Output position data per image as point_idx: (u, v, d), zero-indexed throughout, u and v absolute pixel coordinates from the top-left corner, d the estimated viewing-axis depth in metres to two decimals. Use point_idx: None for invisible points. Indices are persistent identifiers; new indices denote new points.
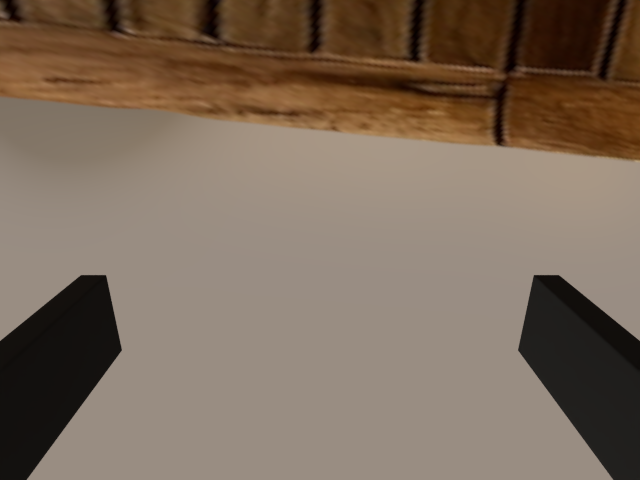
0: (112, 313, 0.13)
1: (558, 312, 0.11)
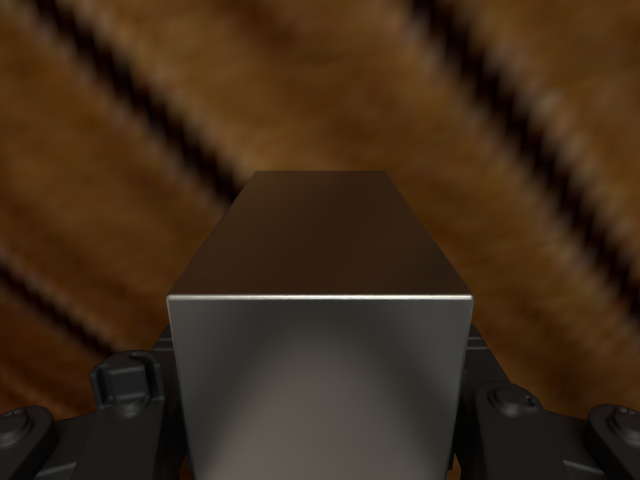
0: None
1: None
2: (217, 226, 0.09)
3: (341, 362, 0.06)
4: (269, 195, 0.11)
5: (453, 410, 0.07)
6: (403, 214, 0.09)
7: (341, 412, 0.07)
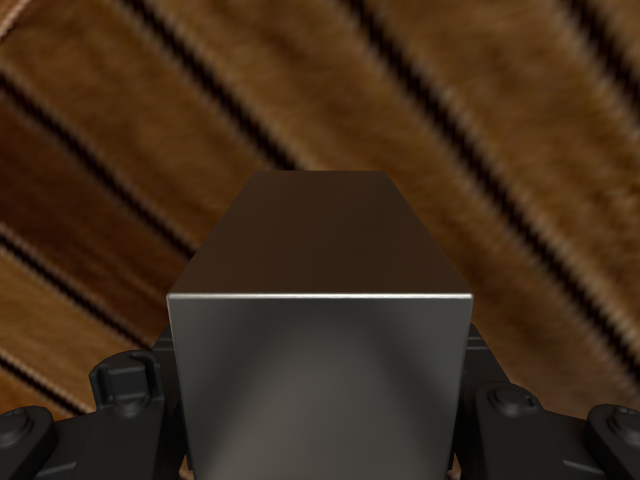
0: None
1: None
2: (217, 225, 0.09)
3: (341, 360, 0.06)
4: (269, 195, 0.11)
5: (453, 409, 0.07)
6: (403, 213, 0.09)
7: (341, 411, 0.07)
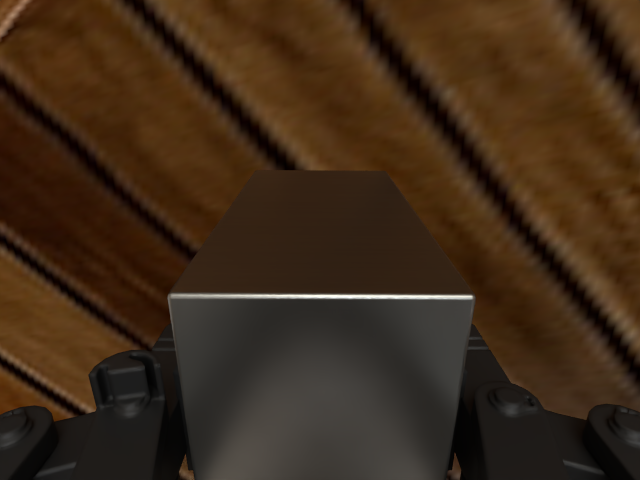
0: None
1: None
2: (218, 225, 0.09)
3: (343, 361, 0.06)
4: (270, 194, 0.11)
5: (454, 410, 0.07)
6: (404, 214, 0.09)
7: (343, 412, 0.07)
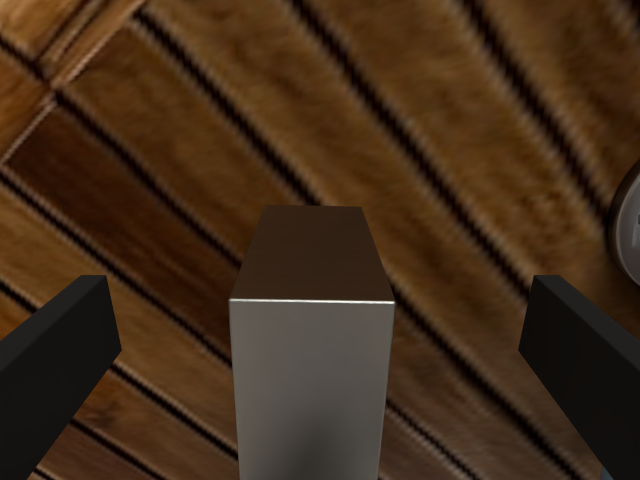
0: (112, 313, 0.13)
1: (558, 312, 0.11)
2: (247, 254, 0.13)
3: (324, 337, 0.11)
4: (278, 228, 0.16)
5: (386, 366, 0.11)
6: (367, 246, 0.14)
7: (323, 366, 0.11)
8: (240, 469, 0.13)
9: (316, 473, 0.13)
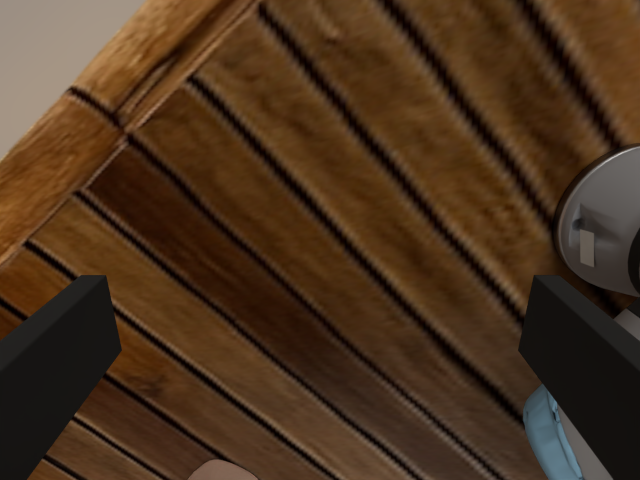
0: (112, 313, 0.13)
1: (558, 312, 0.11)
2: None
3: None
4: None
5: None
6: None
7: None
8: None
9: None
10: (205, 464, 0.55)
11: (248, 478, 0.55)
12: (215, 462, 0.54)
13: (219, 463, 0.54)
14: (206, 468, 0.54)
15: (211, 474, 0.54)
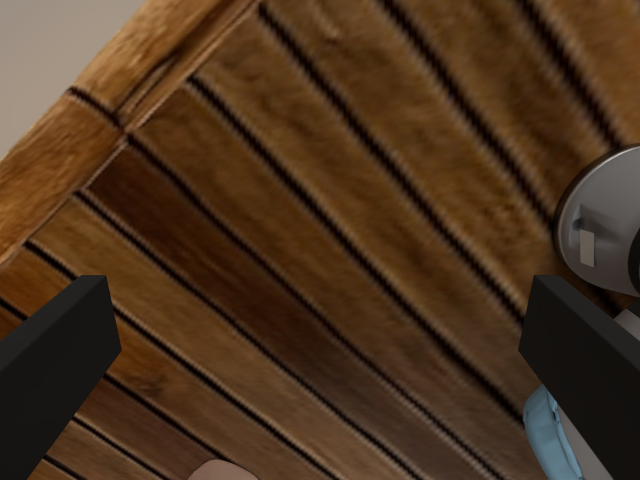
0: (112, 313, 0.13)
1: (558, 312, 0.11)
2: None
3: None
4: None
5: None
6: None
7: None
8: None
9: None
10: (205, 464, 0.55)
11: (248, 478, 0.55)
12: (215, 462, 0.54)
13: (219, 463, 0.54)
14: (206, 468, 0.54)
15: (211, 474, 0.54)
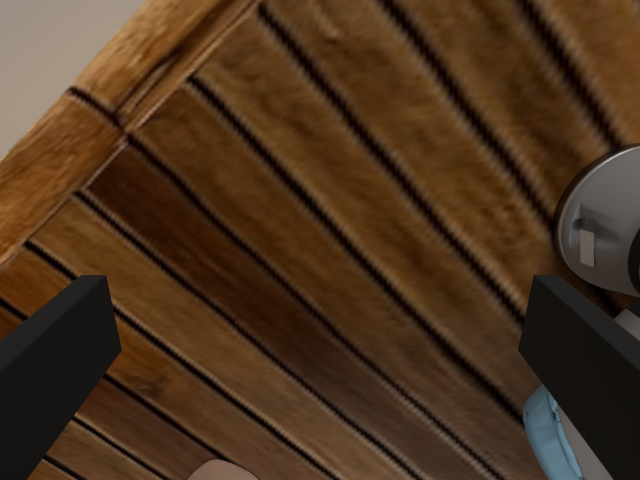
0: (112, 313, 0.13)
1: (558, 312, 0.11)
2: None
3: None
4: None
5: None
6: None
7: None
8: None
9: None
10: (205, 464, 0.55)
11: (248, 478, 0.55)
12: (215, 462, 0.54)
13: (219, 463, 0.54)
14: (206, 468, 0.54)
15: (211, 474, 0.54)
